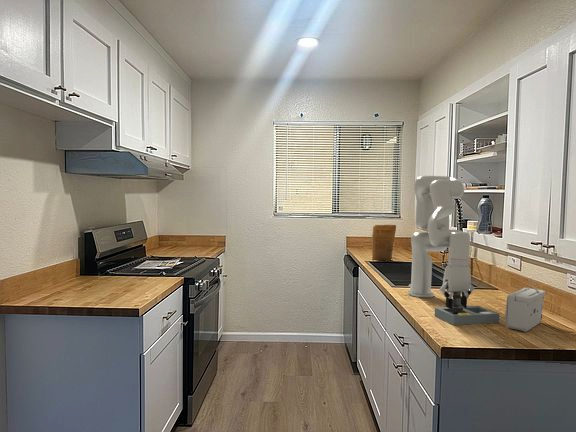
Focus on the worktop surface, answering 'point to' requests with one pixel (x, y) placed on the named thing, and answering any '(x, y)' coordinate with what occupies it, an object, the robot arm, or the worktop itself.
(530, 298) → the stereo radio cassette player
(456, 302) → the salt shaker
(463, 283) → the robot arm
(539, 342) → the worktop surface
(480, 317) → the socket board
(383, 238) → the pancake mix bag
